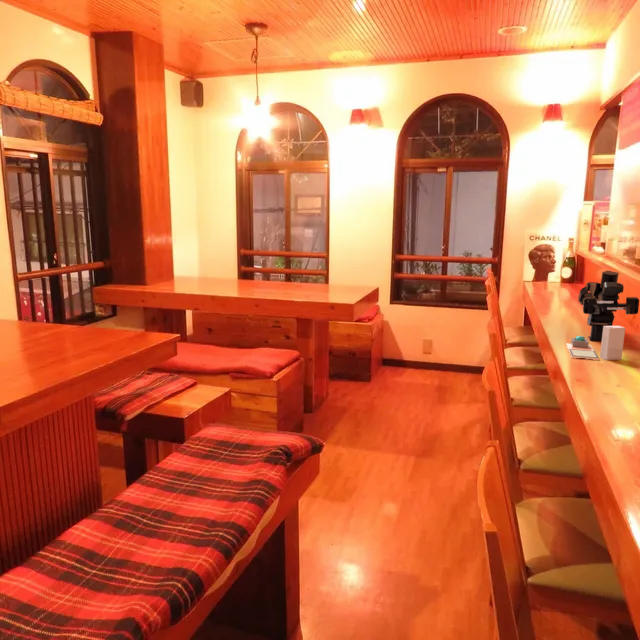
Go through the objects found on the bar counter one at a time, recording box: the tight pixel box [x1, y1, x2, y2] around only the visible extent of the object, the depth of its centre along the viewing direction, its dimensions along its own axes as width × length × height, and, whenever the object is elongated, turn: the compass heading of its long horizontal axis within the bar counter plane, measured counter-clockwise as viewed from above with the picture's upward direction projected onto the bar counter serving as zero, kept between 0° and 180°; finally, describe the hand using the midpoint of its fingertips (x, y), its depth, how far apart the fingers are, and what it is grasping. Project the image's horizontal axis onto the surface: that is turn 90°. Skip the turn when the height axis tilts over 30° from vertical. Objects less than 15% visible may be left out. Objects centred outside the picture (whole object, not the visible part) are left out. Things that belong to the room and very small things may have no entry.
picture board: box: [565, 337, 600, 361], centre depth 207 cm, size 20×9×3 cm, turn 162°
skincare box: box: [599, 325, 626, 361], centre depth 198 cm, size 6×4×12 cm
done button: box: [575, 335, 586, 341], centre depth 213 cm, size 3×3×2 cm
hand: (613, 312), depth 200 cm, fingers open, 9 cm apart
